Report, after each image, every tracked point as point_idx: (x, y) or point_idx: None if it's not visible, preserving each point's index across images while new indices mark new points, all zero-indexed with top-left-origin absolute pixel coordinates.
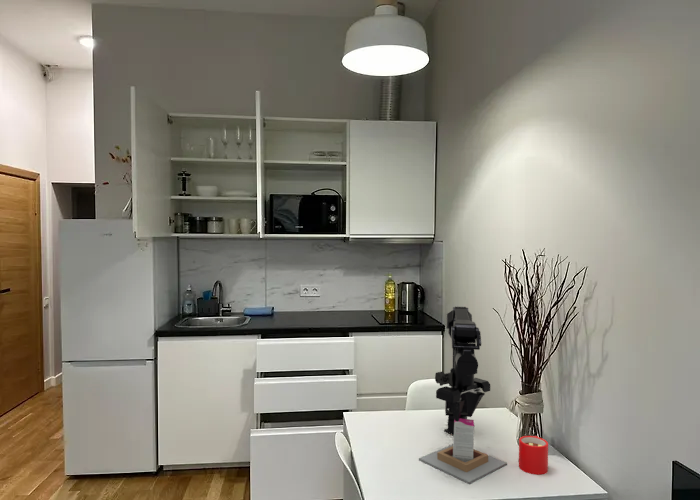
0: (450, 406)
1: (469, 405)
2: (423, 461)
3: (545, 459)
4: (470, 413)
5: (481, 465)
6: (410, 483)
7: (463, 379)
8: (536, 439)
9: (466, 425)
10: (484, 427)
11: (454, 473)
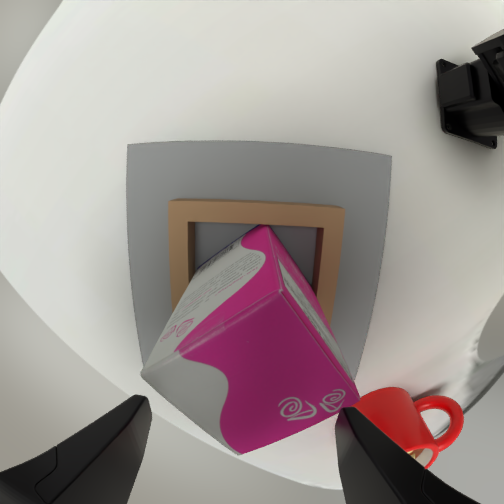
0: (25, 465)
1: (372, 492)
2: (128, 169)
3: None
4: (340, 446)
5: None
6: (25, 246)
7: None
8: (429, 454)
9: (207, 430)
10: None
11: (143, 314)
